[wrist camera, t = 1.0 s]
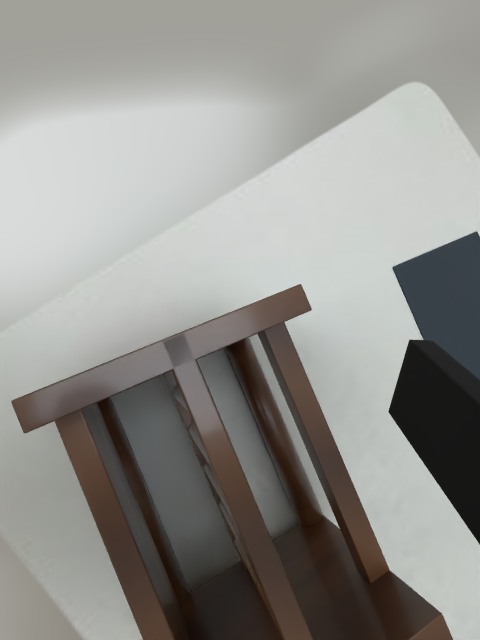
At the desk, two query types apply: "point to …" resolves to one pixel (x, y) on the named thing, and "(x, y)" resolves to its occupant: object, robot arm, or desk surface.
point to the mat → (447, 297)
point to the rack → (233, 497)
